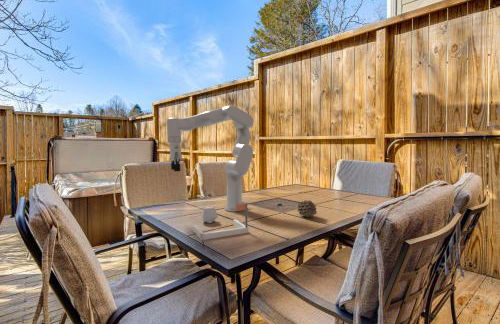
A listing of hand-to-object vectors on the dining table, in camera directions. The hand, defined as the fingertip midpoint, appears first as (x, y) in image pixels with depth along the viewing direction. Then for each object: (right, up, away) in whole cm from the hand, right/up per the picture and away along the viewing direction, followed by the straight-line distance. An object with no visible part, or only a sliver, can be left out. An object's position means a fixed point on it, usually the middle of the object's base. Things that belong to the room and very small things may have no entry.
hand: (175, 170), depth 159 cm
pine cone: (+73, -27, +5) cm, 78 cm away
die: (+20, -28, -7) cm, 35 cm away
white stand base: (+27, -29, -23) cm, 46 cm away
